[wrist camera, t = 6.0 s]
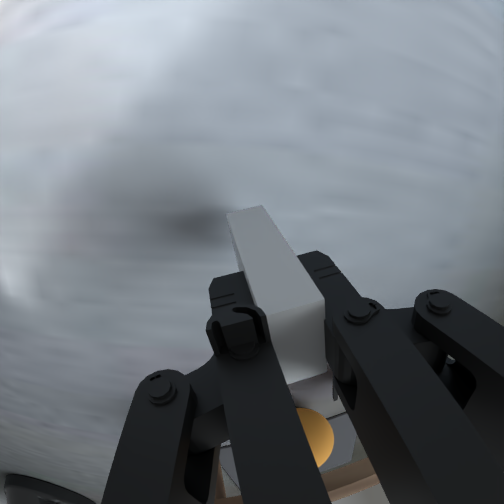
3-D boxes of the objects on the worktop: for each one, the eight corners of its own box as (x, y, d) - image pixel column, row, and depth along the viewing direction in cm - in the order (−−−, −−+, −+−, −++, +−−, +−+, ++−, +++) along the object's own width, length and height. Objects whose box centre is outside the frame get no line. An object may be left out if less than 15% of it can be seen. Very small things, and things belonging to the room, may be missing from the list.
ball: (256, 423, 24) (273, 479, 21) (250, 415, 20) (272, 485, 17) (317, 404, 25) (336, 459, 22) (325, 392, 21) (350, 460, 17)
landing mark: (242, 490, 31) (242, 492, 31) (210, 449, 24) (210, 451, 24) (350, 459, 32) (350, 461, 32) (360, 406, 25) (361, 408, 25)
